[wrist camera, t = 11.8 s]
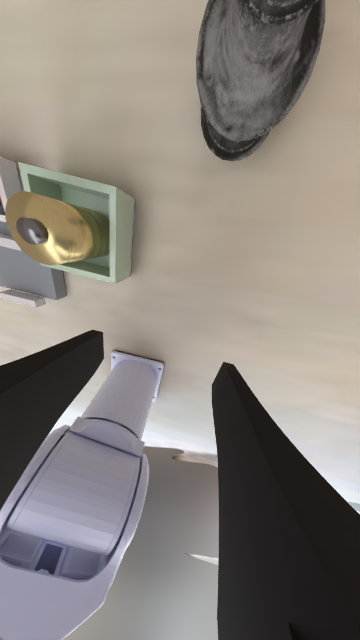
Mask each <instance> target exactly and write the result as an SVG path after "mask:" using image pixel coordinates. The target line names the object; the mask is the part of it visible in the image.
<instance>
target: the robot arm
mask: <svg viewBox="0 0 360 640" xmlns="http://www.w3.org/2000/svg"><path fill="white" fill-rule="evenodd" d="M103 359H104V348H103V332H100V331H96V330H91V331H88V332H85V333H83V334H81V335H78V336H76V337H74V338H71V339H69V340H67V341H64V342H62V343H59V344H57V345H55V346H52V347H50V348H47V349H45V350H42V351H40V352H37V353H34V354H32V355H29V356H27V357H24V358H21V359H19V360H16V361H13V362H10V363H7V364H4V365H1V366H0V640H63V639H64V638H65V637H66V636H68V635H69V634H70V633H71V632H72V631H74V630H75V629H76V628H77V627H78V626H80V625H81V624H82V623H83V622H84V621H85V620H87V619H88V618H89V617H90V616H91V615H92V614H93V613H94V612H95V611H97V610H98V609H99V608H100V607H101V605H102V604H103V603H104V601H105V599H106V596H107V592H108V590H109V588H110V586H111V585H112V583H113V581H114V578H115V575H116V572H117V569H118V567H119V564H120V562H121V560H122V557H123V554H124V553H125V550H126V548H127V547H128V545H129V544H130V542H131V540H132V538H133V536H134V533H135V531H136V528H137V525H138V522H139V520H140V516H141V513H142V509H143V506H144V502H145V497H146V493H147V487H148V480H149V465H148V461H147V457H146V455H145V454H142V451H143V447H144V442H143V441H141V438H142V435H143V431H144V428H145V424H146V421H147V417H148V414H149V410H150V407H151V403H152V402H153V403H154V402H156V398H157V394H158V390H159V385H160V381H161V377H162V373H163V368H164V364H163V363H162V362H157V361H153V360H149V359H145V358H141V357H137V356H133V355H129V354H125V353H121V352H117V351H113V352H112V353H111V373H110V374H109V376H108V377H107V379H106V380H105V382H104V383H103V385H102V386H101V388H100V389H99V391H98V392H97V394H96V395H95V397H94V398H93V400H92V401H91V403H90V404H89V406H88V407H87V409H86V410H85V412H84V413H83V415H82V416H81V417H77V419H76V420H75V422H74V423H73V424H72V426H71V427H70V426H68V425H64V426H62V427H61V428H58V429H56V430H54V431H53V432H52V433H51V434H50V435H49V436H48V437H47V435H48V434H49V432H50V431H51V429H52V428H53V427H54V425H55V424H56V422H57V421H58V419H59V418H60V417H61V415H62V414H63V413H64V411H65V410H66V409H67V407H68V406H69V405H70V404H71V402H72V401H73V400H74V399H75V397H76V396H77V395H78V394H79V392H80V391H81V390H82V389H83V387H84V386H85V385H86V384H87V382H88V381H89V380H90V379H91V377H92V376H93V375H94V373H95V372H96V370H97V369H98V367H99V365H100V364H101V362H102V360H103ZM212 408H213V417H214V426H215V435H216V444H217V455H218V478H219V479H218V480H219V571H218V573H219V574H218V608H217V611H218V612H217V620H218V640H360V514H359V513H358V512H357V511H356V510H355V509H353V508H352V507H351V506H350V505H349V504H348V503H347V502H346V501H345V499H344V498H343V497H342V496H341V495H340V494H339V493H338V492H337V491H336V490H335V489H334V488H333V487H332V486H331V485H330V484H329V483H328V482H327V481H326V480H325V479H324V478H323V477H322V476H321V475H320V473H319V472H318V471H317V470H316V469H315V468H314V467H313V466H312V465H311V464H310V463H309V462H308V461H307V459H306V458H305V457H304V456H303V455H302V454H301V453H300V452H299V451H298V449H297V448H296V447H295V446H294V445H293V444H292V442H291V441H290V440H289V439H288V438H287V436H286V435H285V434H284V433H283V432H282V431H281V429H280V428H279V427H278V426H277V424H276V423H275V422H274V421H273V419H272V418H271V417H270V415H269V414H268V413H267V411H266V410H265V409H264V407H263V406H262V405H261V403H260V402H259V401H258V399H257V398H256V396H255V395H254V394H253V392H252V391H251V389H250V388H249V386H248V385H247V383H246V382H245V381H244V379H243V378H242V376H241V375H240V373H239V372H238V370H237V369H236V367H235V366H234V364H230V363H226V362H223V364H222V366H221V368H220V370H219V372H218V374H217V376H216V378H215V380H214V382H213V384H212ZM46 437H47V438H46ZM45 438H46V439H45Z"/></svg>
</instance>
